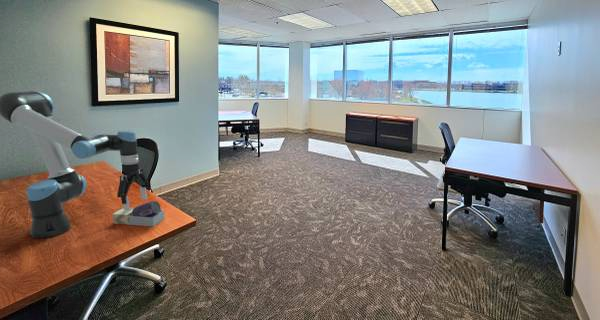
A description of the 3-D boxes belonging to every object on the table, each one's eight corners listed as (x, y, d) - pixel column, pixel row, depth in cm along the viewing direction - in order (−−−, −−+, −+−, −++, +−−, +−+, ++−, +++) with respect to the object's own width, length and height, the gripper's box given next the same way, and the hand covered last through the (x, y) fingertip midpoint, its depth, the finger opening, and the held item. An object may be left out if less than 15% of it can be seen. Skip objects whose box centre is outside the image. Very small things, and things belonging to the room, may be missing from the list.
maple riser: (114, 223, 160) (112, 213, 159) (126, 215, 169) (125, 206, 167) (128, 224, 159) (127, 214, 158) (140, 216, 167) (139, 207, 166)
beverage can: (142, 222, 163) (161, 215, 160) (131, 219, 157) (150, 212, 154) (142, 208, 166) (161, 201, 163) (131, 206, 160) (150, 198, 157)
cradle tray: (129, 224, 159) (128, 216, 157) (141, 216, 168) (140, 208, 167) (153, 226, 156) (152, 217, 155) (164, 218, 166) (164, 210, 165)
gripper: (119, 170, 143) (125, 214, 148) (153, 157, 167) (157, 196, 172) (104, 169, 144) (110, 213, 149) (139, 156, 168) (144, 195, 173)
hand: (135, 204), depth 161 cm, fingers open, 13 cm apart
